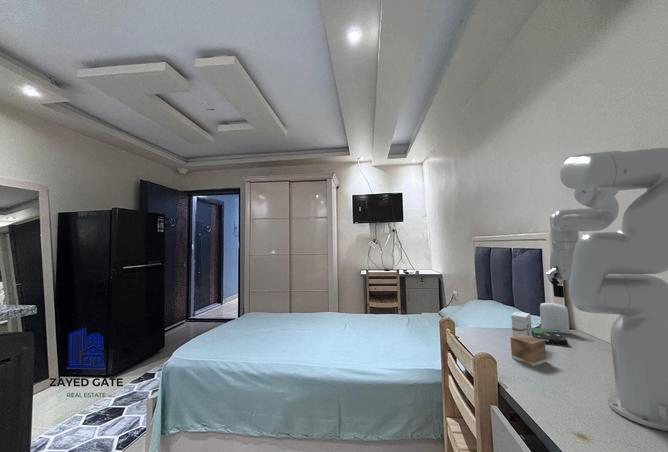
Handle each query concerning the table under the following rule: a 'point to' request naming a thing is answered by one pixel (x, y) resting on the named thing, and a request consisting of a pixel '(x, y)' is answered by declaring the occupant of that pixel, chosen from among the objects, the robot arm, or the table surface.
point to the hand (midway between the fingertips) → (570, 296)
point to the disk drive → (550, 336)
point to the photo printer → (554, 317)
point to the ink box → (521, 324)
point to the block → (528, 349)
